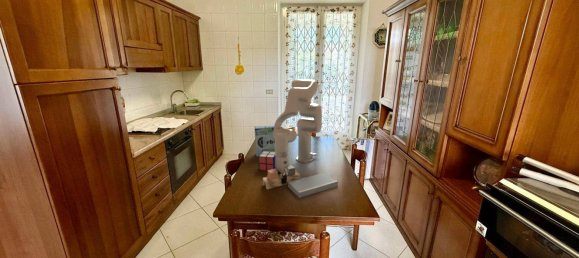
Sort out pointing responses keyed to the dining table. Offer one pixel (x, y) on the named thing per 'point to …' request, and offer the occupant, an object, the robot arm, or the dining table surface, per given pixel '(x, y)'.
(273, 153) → the puzzle cube
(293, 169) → the block
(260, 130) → the gum box
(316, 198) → the dining table surface
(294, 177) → the pallet
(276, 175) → the terracotta crate
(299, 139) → the robot arm
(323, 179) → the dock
